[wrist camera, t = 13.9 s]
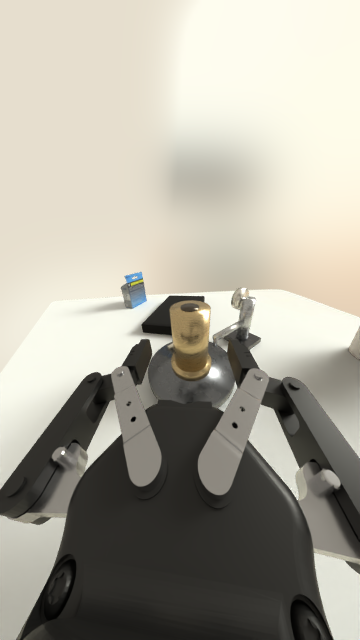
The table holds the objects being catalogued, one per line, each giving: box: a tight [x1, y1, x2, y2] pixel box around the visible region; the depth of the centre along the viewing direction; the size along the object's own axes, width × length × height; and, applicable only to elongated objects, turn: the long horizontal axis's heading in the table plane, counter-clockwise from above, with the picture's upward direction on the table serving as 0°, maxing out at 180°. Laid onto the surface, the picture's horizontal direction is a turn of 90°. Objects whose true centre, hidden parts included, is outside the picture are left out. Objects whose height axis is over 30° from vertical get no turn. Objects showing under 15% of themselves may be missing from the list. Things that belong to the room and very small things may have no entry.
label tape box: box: [121, 272, 147, 308], centre depth 53 cm, size 9×4×12 cm, turn 155°
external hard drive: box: [142, 296, 204, 335], centre depth 44 cm, size 14×23×3 cm, turn 165°
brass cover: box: [170, 300, 211, 381], centre depth 20 cm, size 6×6×10 cm
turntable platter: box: [148, 342, 235, 408], centre depth 23 cm, size 14×14×2 cm
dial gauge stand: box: [213, 288, 261, 350], centre depth 26 cm, size 12×6×12 cm, turn 126°
